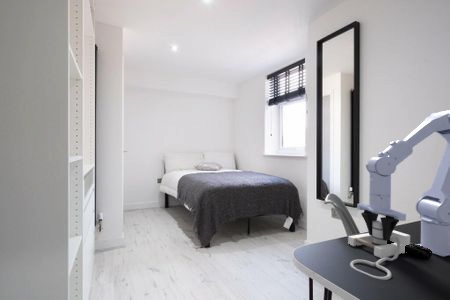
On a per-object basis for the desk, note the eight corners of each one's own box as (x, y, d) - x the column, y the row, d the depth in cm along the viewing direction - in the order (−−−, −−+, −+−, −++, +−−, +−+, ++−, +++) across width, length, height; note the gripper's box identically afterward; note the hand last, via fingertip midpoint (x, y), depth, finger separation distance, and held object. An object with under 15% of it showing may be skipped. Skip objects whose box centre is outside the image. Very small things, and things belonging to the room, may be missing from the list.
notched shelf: (375, 239, 84) (375, 224, 84) (409, 251, 74) (410, 235, 74) (348, 243, 79) (348, 228, 79) (380, 258, 69) (380, 240, 69)
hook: (419, 261, 67) (384, 294, 56) (382, 249, 75) (346, 276, 64) (418, 236, 66) (383, 264, 56) (380, 226, 74) (344, 250, 64)
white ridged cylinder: (368, 240, 78) (369, 220, 78) (378, 239, 79) (379, 220, 79) (380, 245, 74) (380, 224, 74) (390, 244, 75) (391, 223, 75)
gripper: (351, 191, 82) (350, 231, 82) (394, 199, 68) (394, 247, 68) (365, 190, 84) (365, 229, 84) (410, 198, 71) (410, 244, 71)
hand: (379, 237), depth 77 cm, fingers closed on white ridged cylinder, 4 cm apart
